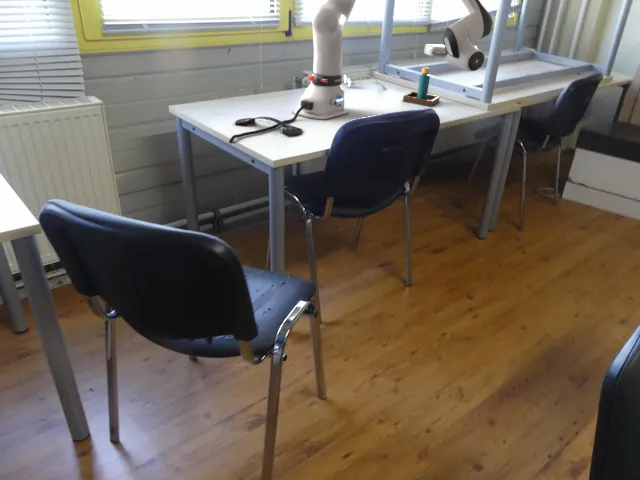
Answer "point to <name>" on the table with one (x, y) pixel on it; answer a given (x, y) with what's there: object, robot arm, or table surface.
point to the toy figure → (423, 83)
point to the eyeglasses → (353, 81)
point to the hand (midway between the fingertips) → (440, 47)
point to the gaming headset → (286, 129)
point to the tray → (413, 98)
